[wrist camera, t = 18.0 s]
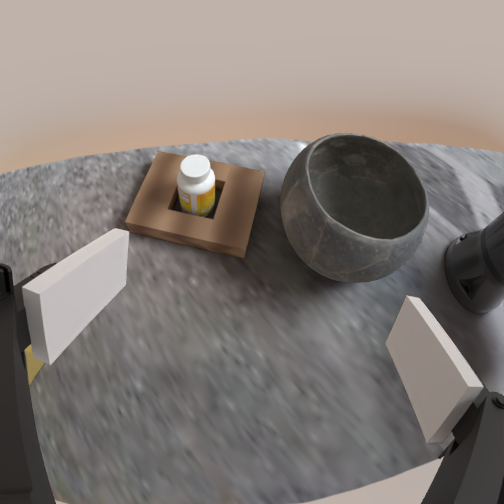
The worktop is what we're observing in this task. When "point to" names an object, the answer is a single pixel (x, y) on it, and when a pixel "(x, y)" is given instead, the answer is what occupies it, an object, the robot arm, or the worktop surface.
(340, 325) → the worktop surface
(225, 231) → the well board
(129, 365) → the worktop surface
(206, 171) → the supplement bottle
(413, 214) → the bowl
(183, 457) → the worktop surface
